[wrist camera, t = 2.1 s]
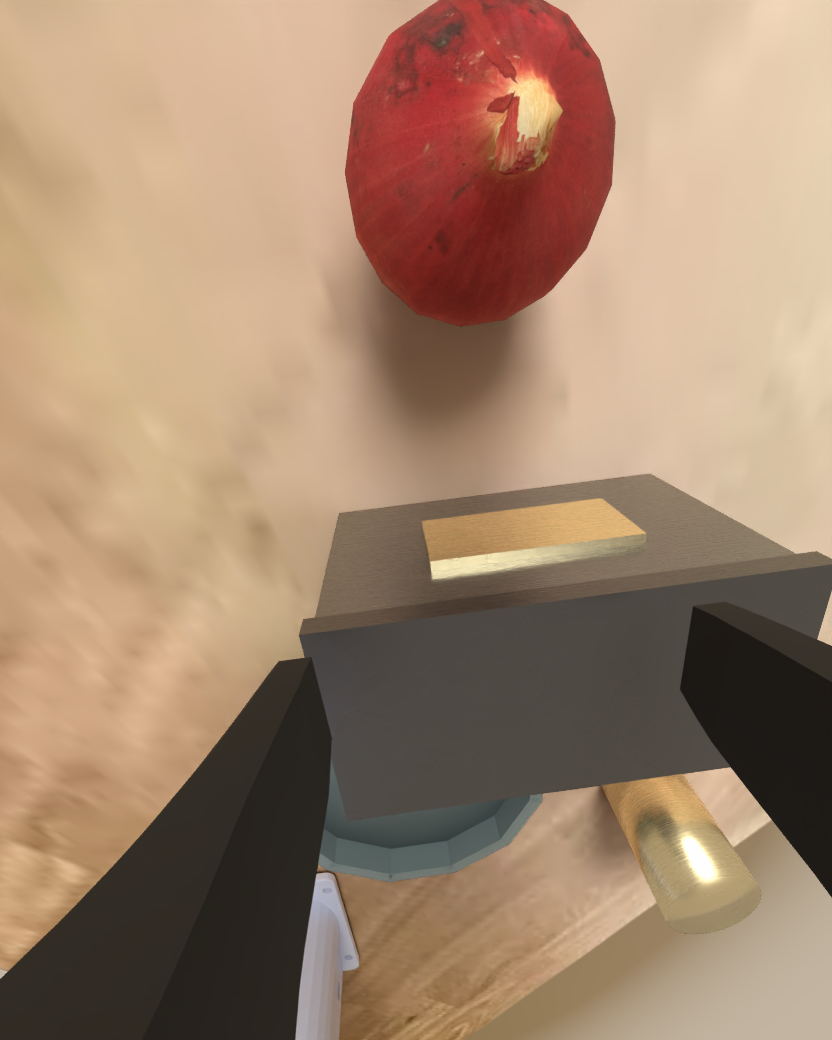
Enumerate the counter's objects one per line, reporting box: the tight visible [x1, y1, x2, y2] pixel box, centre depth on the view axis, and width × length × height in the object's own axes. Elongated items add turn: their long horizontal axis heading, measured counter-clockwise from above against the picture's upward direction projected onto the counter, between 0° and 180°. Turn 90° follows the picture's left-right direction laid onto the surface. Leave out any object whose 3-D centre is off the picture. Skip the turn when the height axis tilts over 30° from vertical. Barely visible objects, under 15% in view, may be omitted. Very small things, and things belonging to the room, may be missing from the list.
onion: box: [345, 0, 615, 327], centre depth 10 cm, size 6×6×8 cm
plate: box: [318, 760, 542, 882], centre depth 21 cm, size 12×12×2 cm
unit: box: [299, 474, 832, 821], centre depth 15 cm, size 6×12×8 cm, turn 96°
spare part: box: [602, 774, 761, 934], centre depth 21 cm, size 4×4×6 cm
